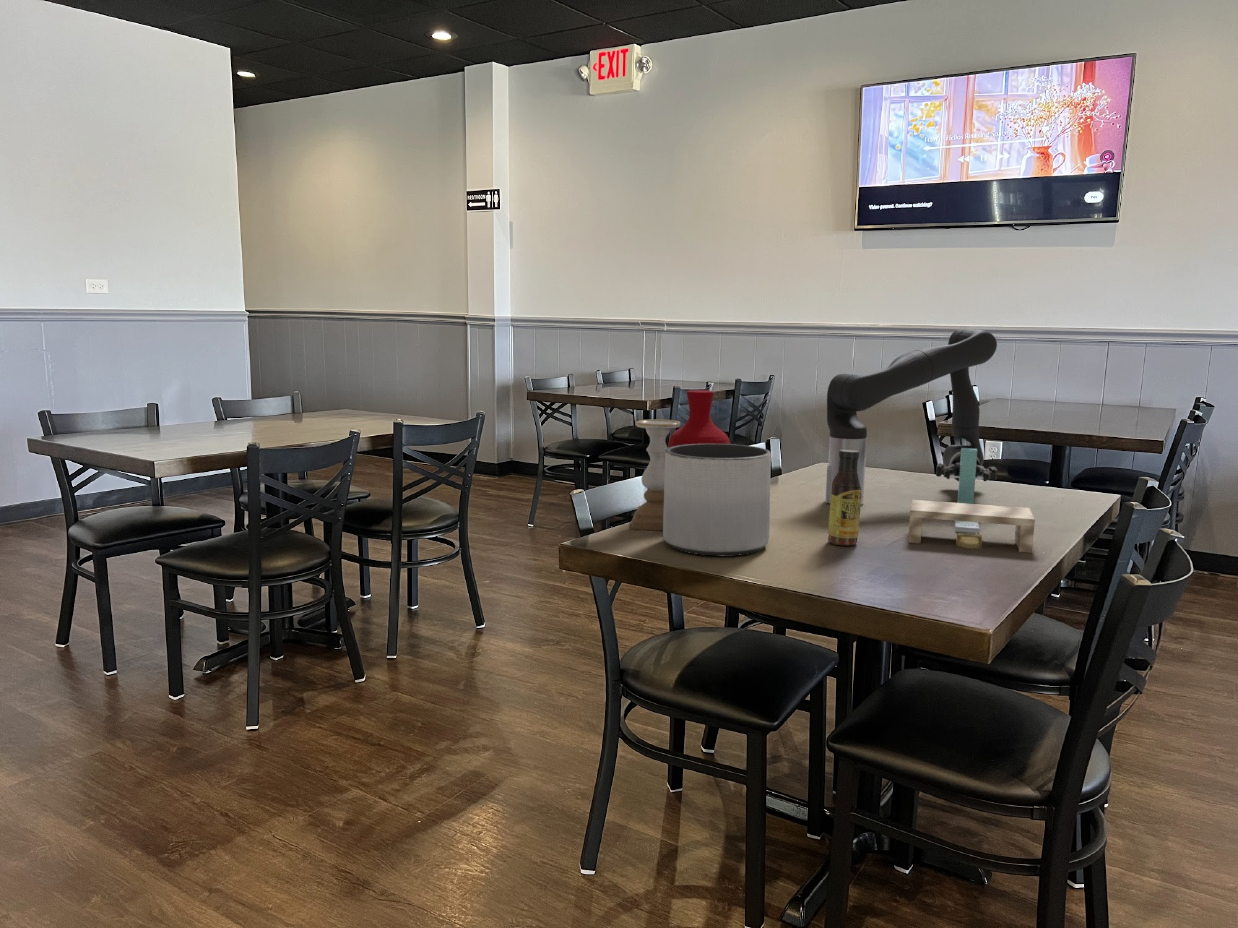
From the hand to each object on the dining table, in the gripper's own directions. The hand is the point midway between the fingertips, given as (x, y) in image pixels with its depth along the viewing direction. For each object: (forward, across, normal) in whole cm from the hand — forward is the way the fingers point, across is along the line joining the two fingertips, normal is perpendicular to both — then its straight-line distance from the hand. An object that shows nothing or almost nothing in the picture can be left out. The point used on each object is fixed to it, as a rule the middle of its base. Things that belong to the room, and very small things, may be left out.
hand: (966, 476), depth 217 cm
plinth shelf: (+32, 0, +9) cm, 33 cm away
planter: (+54, -50, +9) cm, 75 cm away
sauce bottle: (+43, -25, +9) cm, 51 cm away
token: (+36, 0, +9) cm, 37 cm away
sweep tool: (+12, 0, +9) cm, 15 cm away
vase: (+27, -61, +9) cm, 68 cm away
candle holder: (+41, -67, +9) cm, 79 cm away
